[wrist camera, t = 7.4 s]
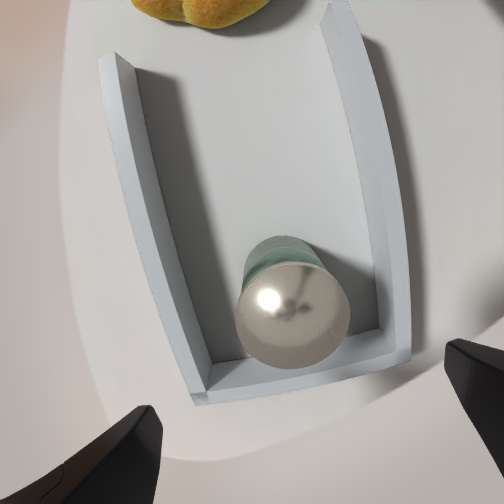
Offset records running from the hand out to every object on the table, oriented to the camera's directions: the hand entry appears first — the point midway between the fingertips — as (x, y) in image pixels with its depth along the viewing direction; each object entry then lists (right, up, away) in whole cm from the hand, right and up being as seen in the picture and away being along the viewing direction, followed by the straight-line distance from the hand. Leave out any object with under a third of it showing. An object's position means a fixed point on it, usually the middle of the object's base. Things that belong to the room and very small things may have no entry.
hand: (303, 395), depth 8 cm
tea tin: (0, +3, +10) cm, 11 cm away
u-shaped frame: (-1, +7, +9) cm, 11 cm away
